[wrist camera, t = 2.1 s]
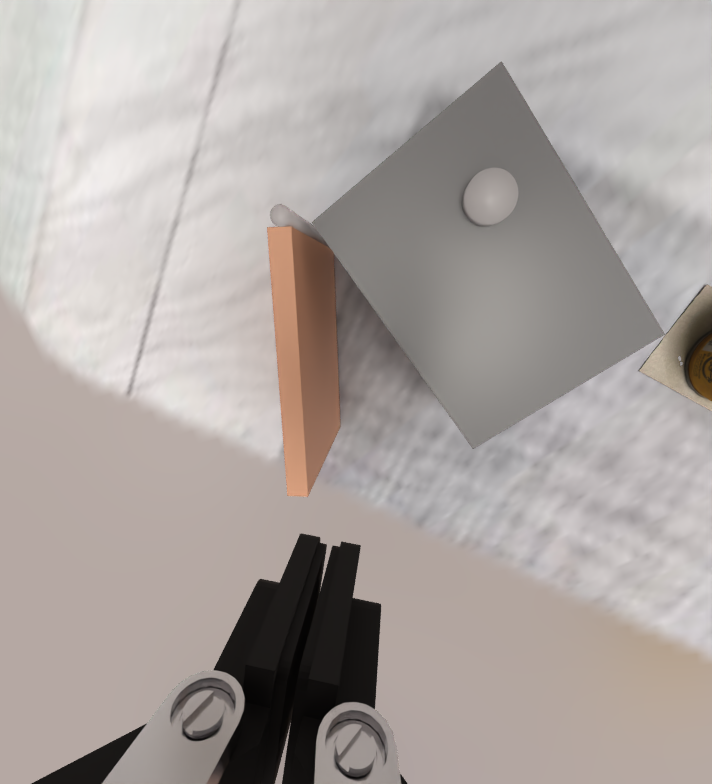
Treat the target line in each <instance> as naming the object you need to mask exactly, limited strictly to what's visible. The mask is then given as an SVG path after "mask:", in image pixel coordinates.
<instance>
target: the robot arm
mask: <svg viewBox="0 0 712 784" xmlns="http://www.w3.org/2000/svg"><path fill="white" fill-rule="evenodd" d="M326 547H327V545H326V544H323V543H320V537H316V536H311V535H306V534H300V536H299V538H298V540H297V543H296V545H295V548H294V550H293V552H292V555H291V557H290V560H289V562H288V564H287V567H286V569H285V572H284V574H283V576H282V579H281V581H280V583H278V582H273V581H268V580H264V579H260V580H259V581H258V582H257V584H256V586H255V588H254V590H253V592H252V594H251V596H250V598H249V600H248V602H247V604H246V606H245V608H244V610H243V612H242V614H241V616H240V618H239V620H238V622H237V624H236V626H235V628H234V630H233V632H232V634H231V636H230V638H229V640H228V642H227V644H226V646H225V648H224V650H223V652H222V654H221V656H220V658H219V660H218V662H217V664H216V666H215V668H214V670H213V671H203V672H200V673H197V674H194V675H191V676H190V677H188V678H187V679H185V680H183V681H182V682H180V683H179V684H178V685H177V686H176V687H175V688H174V689H173V690H172V692H171V693H170V694H169V695H168V696H167V698H166V699H165V700H164V702H163V703H162V705H161V706H160V707H159V708H158V710H157V711H156V712H155V714H154V715H153V716H152V718H151V719H150V720H149V722H148V723H147V724H145V725H143V726H141V727H139V728H137V729H135V730H133V731H132V732H130V733H128V734H126V735H124V736H122V737H120V738H118V739H116V740H114V741H112V742H110V743H109V744H107V745H105V746H103V747H101V748H99V749H97V750H95V751H93V752H91V753H89V754H87V755H85V756H84V757H82V758H80V759H78V760H76V761H74V762H72V763H70V764H68V765H66V766H64V767H62V768H61V769H59V770H57V771H55V772H53V773H51V774H49V775H47V776H46V777H43V778H41V779H39V780H38V781H36V782H34V783H32V784H275V780H276V777H277V773H278V769H279V765H280V761H281V757H282V753H283V750H284V746H285V741H286V738H287V734H288V730H289V726H290V732H289V739H288V746H287V753H286V760H285V767H284V774H283V781H282V784H407V782H406V781H405V780H404V778H403V777H402V775H401V774H400V770H399V763H398V754H397V746H396V742H395V739H394V735H393V731H392V729H391V728H390V726H389V724H388V722H387V721H386V719H385V718H384V717H382V715H381V714H380V713H379V712H378V711H377V710H375V699H376V682H377V666H378V649H379V634H380V616H381V604H379V603H374V602H369V601H364V600H360V599H355V598H353V591H354V585H355V579H356V572H357V566H358V560H359V553H360V547H361V546H360V545H356V544H351V543H346V542H341V545H340V547H338V546H333V547H332V550H331V553H330V557H329V561H328V564H327V568H326V572H325V576H324V579H323V583H322V587H321V581H322V574H323V567H324V561H325V554H326ZM320 587H321V590H320ZM290 722H291V725H290Z"/></svg>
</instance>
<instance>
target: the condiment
mask: <svg viewBox="0 0 712 784" xmlns="http://www.w3.org/2000/svg"><path fill="white" fill-rule="evenodd" d="M679 356H681V361H679V360H678V357H679ZM680 362H683V365H681V366H680ZM639 371H640V372H642V373H644V374H646V375H648V376H649V377H651V378H653V379H655V380H656V381H658V382H660V383H662V384H664V385H666V386H668V387H669V388H671V389H673V390H675V391H676V392H678V393H680V394H682V395H684V396H685V397H687V398H689V399H691V400H692V401H694V402H696V403H698V404H700V405H701V406H703V407H705V408H707V409H709V410H710V411H712V287H711V286H709V285H706V286H705V288H704V289H703V290H702V291H701V293H700V294H699V295H698V296H697V297H696V298H695V299H694V301H693V302H692V303H691V304H690V305H689V307H688V308H687V309H686V311H685V312H684V313H683V314H682V315H681V316H680V318H679V319H678V320H677V322H676V323H675V324H674V325H673V327H672V328H671V329H670V331H669V332H668V333H667V334H666V335H665V336H664V338H663V340H662V341H661V343H660V344H659V346H658V347H657V348H656V349H655V350H654V352H653V353H652V354H651V355H650V357H649V358H648V360H647V361H646V363H645V364H644V365H643V366H642V368H641V369H640V370H639Z"/></svg>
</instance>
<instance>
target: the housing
mask: <svg viewBox="0 0 712 784" xmlns="http://www.w3.org/2000/svg"><path fill="white" fill-rule="evenodd" d="M312 223H313V225H314V226H315V227H316V229H317V230H318V232H319V233H320V234H321V236H322V237H323V239H324V240H325V241H326V243H327V244H328V246H329V247H330V248H331V250H332V251H333V253H334V254H335V256H336V257H337V258H338V260H339V261H340V263H341V264H342V265H343V267H344V268H345V270H346V271H347V272H348V274H349V275H350V277H351V278H352V279H353V281H354V282H355V284H356V285H357V286H358V288H359V289H360V291H361V292H362V294H363V295H364V296H365V298H366V299H367V301H368V302H369V303H370V305H371V306H372V308H373V309H374V310H375V312H376V313H377V315H378V316H379V317H380V319H381V320H382V322H383V323H384V324H385V326H386V327H387V329H388V330H389V332H390V333H391V334H392V336H393V337H394V339H395V340H396V341H397V343H398V344H399V346H400V347H401V348H402V350H403V351H404V353H405V354H406V355H407V357H408V358H409V360H410V361H411V362H412V364H413V365H414V367H415V368H416V369H417V371H418V372H419V374H420V375H421V377H422V378H423V379H424V381H425V382H426V384H427V385H428V386H429V388H430V389H431V391H432V392H433V393H434V395H435V396H436V398H437V399H438V400H439V402H440V403H441V405H442V406H443V407H444V409H445V410H446V412H447V413H448V415H449V416H450V417H451V419H452V420H453V422H454V423H455V424H456V426H457V427H458V429H459V430H460V431H461V433H462V434H463V436H464V437H465V438H466V440H467V441H468V443H469V444H470V445H471V447H472V448H473V449H474V448H476V447H477V446H479V445H481V444H482V443H484V442H486V441H487V440H489V439H491V438H492V437H494V436H496V435H497V434H499V433H501V432H502V431H504V430H506V429H507V428H509V427H511V426H512V425H514V424H516V423H517V422H519V421H521V420H522V419H524V418H526V417H527V416H529V415H531V414H533V413H534V412H536V411H538V410H539V409H541V408H543V407H544V406H546V405H548V404H549V403H551V402H553V401H554V400H556V399H558V398H559V397H561V396H563V395H564V394H566V393H568V392H569V391H571V390H573V389H574V388H576V387H578V386H579V385H581V384H583V383H584V382H586V381H588V380H589V379H591V378H593V377H594V376H596V375H598V374H599V373H601V372H603V371H604V370H606V369H608V368H609V367H611V366H613V365H615V364H616V363H618V362H620V361H621V360H623V359H625V358H626V357H628V356H630V355H631V354H633V353H635V352H636V351H638V350H640V349H641V348H643V347H645V346H646V345H648V344H650V343H651V342H653V341H655V340H656V339H658V338H660V337H661V336H663V335H665V334H664V332H663V330H662V329H661V327H660V325H659V324H658V322H657V320H656V319H655V317H654V315H653V314H652V312H651V310H650V309H649V307H648V305H647V304H646V302H645V300H644V299H643V297H642V295H641V294H640V292H639V290H638V289H637V287H636V285H635V284H634V282H633V280H632V279H631V277H630V275H629V274H628V272H627V270H626V269H625V267H624V265H623V263H622V262H621V260H620V258H619V257H618V255H617V253H616V252H615V250H614V248H613V247H612V245H611V243H610V242H609V240H608V238H607V237H606V235H605V233H604V232H603V230H602V228H601V227H600V225H599V223H598V222H597V220H596V218H595V217H594V215H593V213H592V212H591V210H590V208H589V207H588V205H587V203H586V202H585V200H584V198H583V197H582V195H581V193H580V192H579V190H578V188H577V187H576V185H575V183H574V182H573V180H572V178H571V177H570V175H569V173H568V172H567V170H566V168H565V167H564V165H563V163H562V162H561V160H560V158H559V157H558V155H557V153H556V152H555V150H554V148H553V147H552V145H551V143H550V142H549V140H548V138H547V136H546V135H545V133H544V131H543V130H542V128H541V126H540V125H539V123H538V121H537V120H536V118H535V116H534V115H533V113H532V111H531V110H530V108H529V106H528V105H527V103H526V101H525V100H524V98H523V96H522V95H521V93H520V91H519V90H518V88H517V86H516V85H515V83H514V81H513V80H512V78H511V76H510V75H509V73H508V71H507V70H506V68H505V66H504V65H503V63H502V61H501V62H500V63H499V64H498V65H497V66H495V67H494V68H493V69H492V70H491V71H490V72H488V73H487V74H486V75H485V76H484V77H482V78H481V79H480V80H479V81H478V82H477V83H475V84H474V85H473V86H472V87H471V88H470V89H468V90H467V91H466V92H465V93H464V94H462V95H461V96H460V97H459V98H458V99H457V100H455V101H454V102H453V103H452V104H451V105H449V106H448V107H447V108H446V109H445V110H444V111H442V112H441V113H440V114H439V115H438V116H437V117H435V118H434V119H433V120H432V121H431V122H429V123H428V124H427V125H426V126H425V127H424V128H422V129H421V130H420V131H419V132H418V133H417V134H415V135H414V136H413V137H412V138H411V139H409V140H408V141H407V142H406V143H405V144H404V145H402V146H401V147H400V148H399V149H398V150H396V151H395V152H394V153H393V154H392V155H391V156H389V157H388V158H387V159H386V160H385V161H384V162H382V163H381V164H380V165H379V166H378V167H376V168H375V169H374V170H373V171H372V172H371V173H369V174H368V175H367V176H366V177H365V178H363V179H362V180H361V181H360V182H359V183H358V184H356V185H355V186H354V187H353V188H352V189H351V190H349V191H348V192H347V193H346V194H345V195H343V196H342V197H341V198H340V199H339V200H338V201H336V202H335V203H334V204H333V205H332V206H331V207H329V208H328V209H327V210H326V211H325V212H323V213H322V214H321V215H320V216H319V217H318V218H316V219H315V220H314V221H313V222H312Z"/></svg>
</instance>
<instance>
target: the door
mask: <svg viewBox="0 0 712 784" xmlns="http://www.w3.org/2000/svg"><path fill="white" fill-rule="evenodd" d="M270 218H271V221H272V222H273V224H275V225H276V226H278V227H267V232H268V245H269V259H270V272H271V285H272V298H273V311H274V324H275V338H276V351H277V364H278V377H279V390H280V403H281V416H282V430H283V443H284V456H285V469H286V482H287V495H288V496H306V497H308V495H309V493H310V491H311V489H312V487H313V485H314V482H315V480H316V478H317V476H318V474H319V472H320V470H321V467H322V465H323V463H324V461H325V459H326V457H327V455H328V452H329V450H330V448H331V446H332V444H333V442H334V439H335V437H336V435H337V433H338V431H339V429H340V404H339V378H338V352H337V325H336V299H335V273H334V253H333V251H332V250H331V248H330V247H329V246H328V244H327V243H326V241H325V240H324V239H323V237H322V236H321V234H320V233H319V232H318V230H317V229H316V227H314V226H313V225H312V224H310V223H309V222H307V221H306V220H305V219H303V218H302V217H300V216H299V215H297V214H296V213H295V212H293V211H292V210H290V209H289V208H288V207H286V206H285V205H282V204H278V205H276V206H274V207H273V208H272V210H271V213H270Z"/></svg>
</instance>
